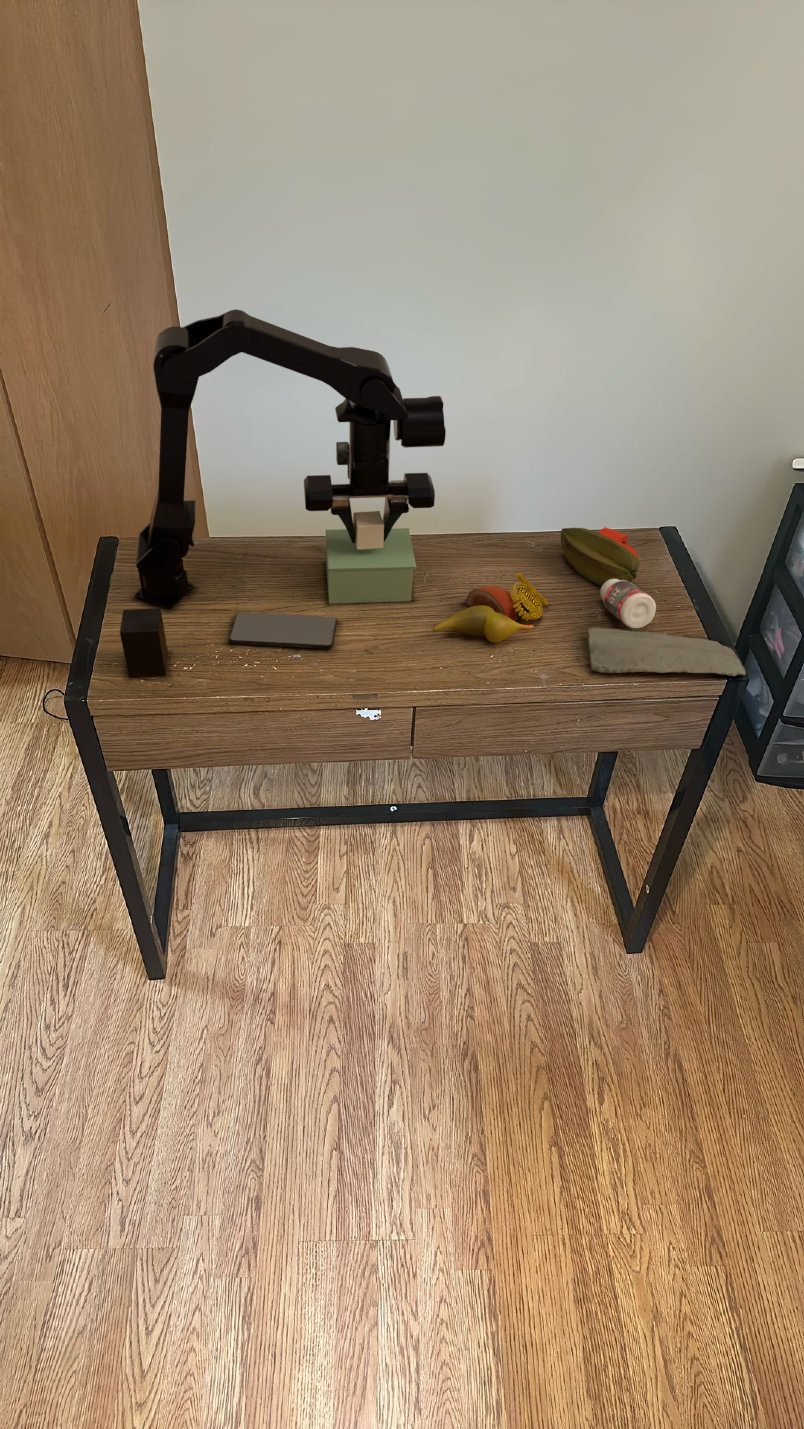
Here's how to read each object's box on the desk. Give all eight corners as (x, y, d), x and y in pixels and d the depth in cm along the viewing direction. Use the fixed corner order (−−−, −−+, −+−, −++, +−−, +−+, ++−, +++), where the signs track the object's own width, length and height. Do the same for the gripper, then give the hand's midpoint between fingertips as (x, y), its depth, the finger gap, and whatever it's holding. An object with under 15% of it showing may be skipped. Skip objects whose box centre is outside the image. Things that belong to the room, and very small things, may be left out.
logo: (548, 602, 149) (537, 628, 143) (544, 605, 149) (533, 631, 143) (519, 571, 147) (507, 596, 141) (516, 574, 148) (504, 599, 142)
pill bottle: (617, 608, 140) (590, 587, 148) (631, 636, 142) (604, 614, 151) (648, 587, 139) (619, 567, 148) (662, 615, 142) (633, 594, 151)
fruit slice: (489, 583, 151) (472, 610, 151) (473, 568, 145) (455, 596, 145) (531, 607, 147) (513, 635, 147) (517, 593, 141) (498, 622, 141)
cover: (408, 531, 152) (408, 528, 152) (416, 570, 145) (416, 566, 144) (325, 532, 151) (325, 529, 151) (328, 572, 143) (328, 568, 143)
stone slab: (581, 637, 145) (590, 673, 137) (584, 621, 143) (594, 657, 135) (728, 647, 145) (746, 684, 137) (733, 632, 144) (751, 668, 136)
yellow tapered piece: (523, 622, 146) (535, 645, 141) (426, 628, 144) (435, 651, 139) (526, 597, 144) (539, 619, 139) (428, 602, 141) (437, 625, 136)
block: (357, 549, 145) (357, 526, 142) (353, 535, 148) (353, 512, 145) (383, 547, 145) (384, 525, 143) (378, 533, 148) (379, 510, 145)
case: (404, 562, 156) (405, 531, 152) (411, 601, 149) (412, 570, 145) (326, 564, 155) (325, 533, 151) (329, 603, 147) (328, 572, 143)
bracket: (573, 527, 158) (588, 515, 161) (569, 547, 161) (584, 535, 164) (636, 553, 154) (650, 539, 157) (631, 573, 156) (645, 559, 159)
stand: (129, 677, 133) (119, 632, 128) (132, 654, 137) (123, 609, 131) (166, 676, 134) (158, 630, 128) (168, 653, 137) (160, 608, 132)
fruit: (597, 594, 160) (572, 603, 156) (575, 525, 159) (549, 532, 155) (652, 577, 151) (626, 585, 147) (629, 503, 150) (602, 510, 146)
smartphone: (236, 611, 144) (337, 616, 143) (237, 616, 144) (337, 621, 144) (228, 640, 139) (332, 645, 138) (228, 645, 139) (332, 650, 139)
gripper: (427, 419, 143) (422, 511, 153) (300, 421, 141) (304, 514, 151) (438, 456, 135) (431, 550, 145) (304, 458, 133) (307, 554, 143)
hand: (368, 541), depth 147 cm, fingers closed on block, 4 cm apart
